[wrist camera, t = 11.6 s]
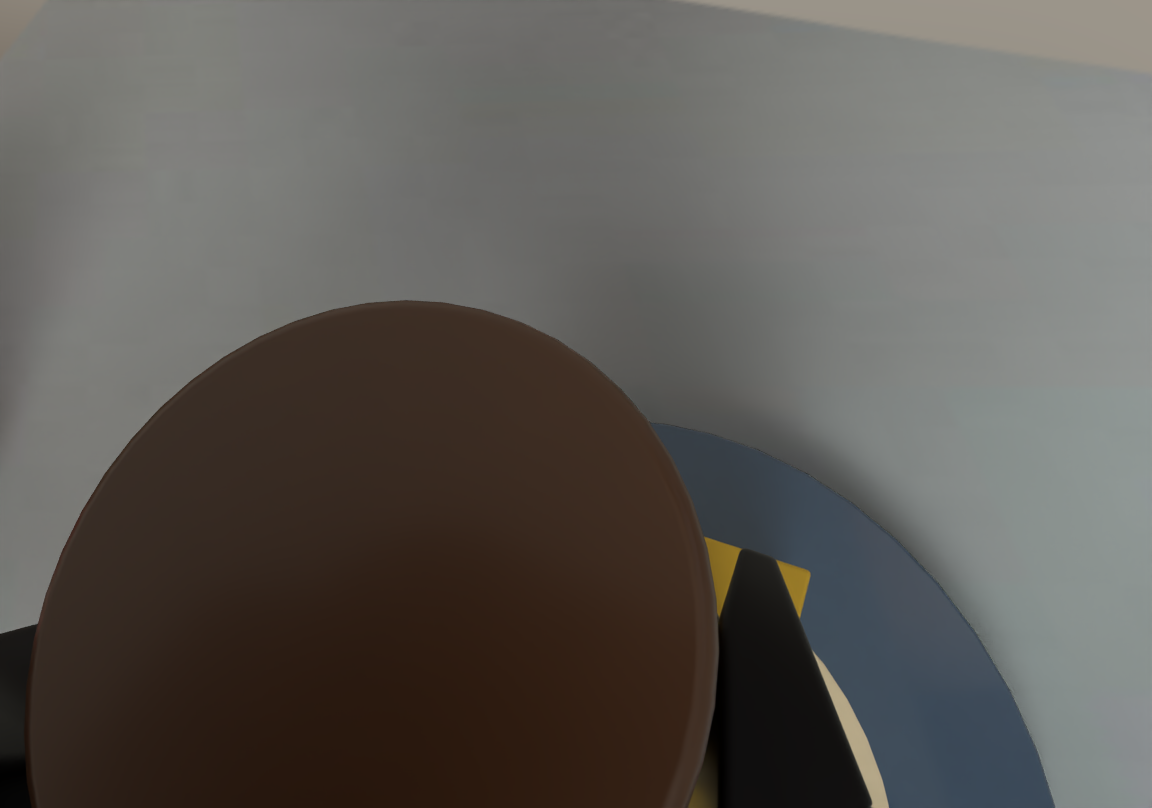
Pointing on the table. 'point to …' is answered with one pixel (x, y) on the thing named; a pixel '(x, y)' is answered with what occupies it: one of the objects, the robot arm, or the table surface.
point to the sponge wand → (384, 586)
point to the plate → (873, 634)
